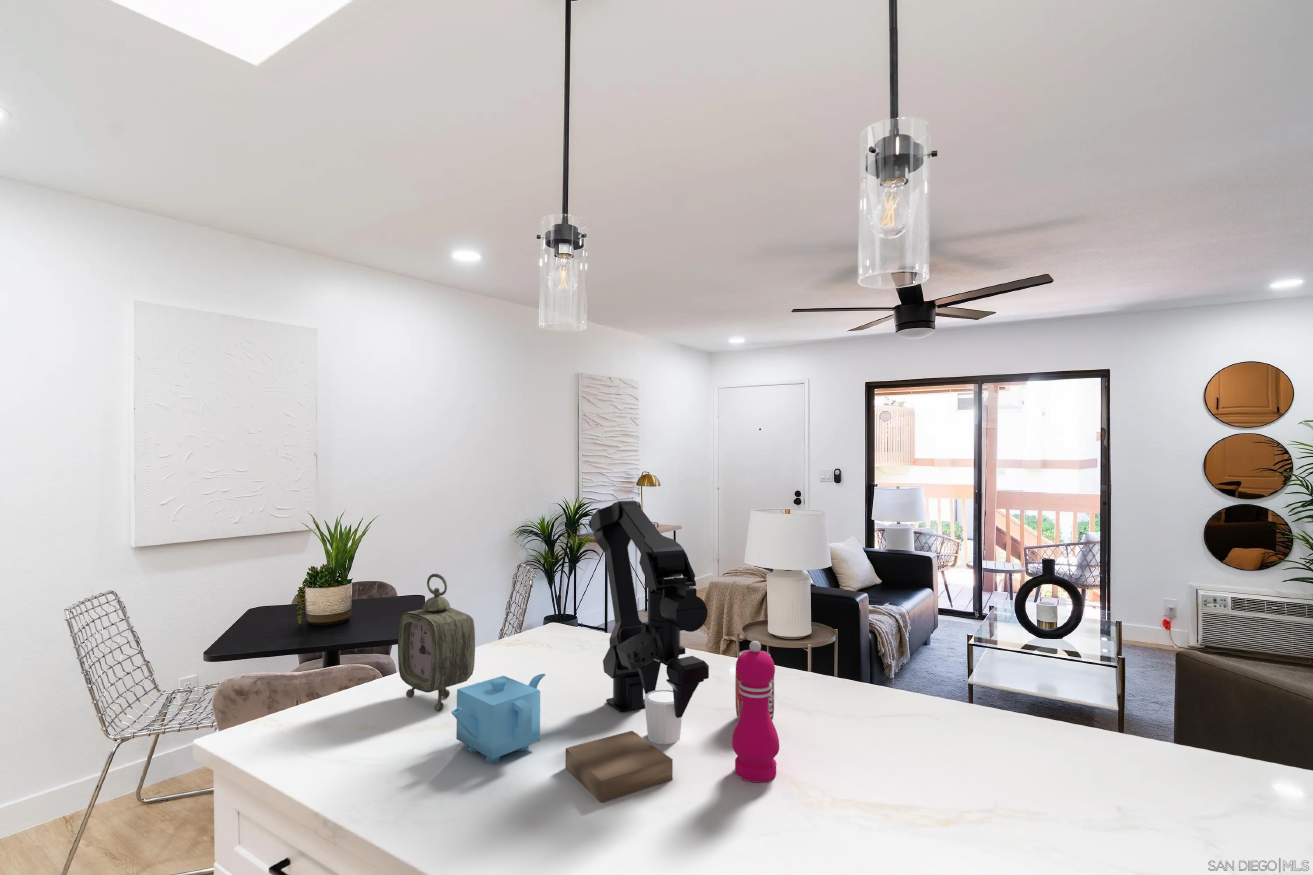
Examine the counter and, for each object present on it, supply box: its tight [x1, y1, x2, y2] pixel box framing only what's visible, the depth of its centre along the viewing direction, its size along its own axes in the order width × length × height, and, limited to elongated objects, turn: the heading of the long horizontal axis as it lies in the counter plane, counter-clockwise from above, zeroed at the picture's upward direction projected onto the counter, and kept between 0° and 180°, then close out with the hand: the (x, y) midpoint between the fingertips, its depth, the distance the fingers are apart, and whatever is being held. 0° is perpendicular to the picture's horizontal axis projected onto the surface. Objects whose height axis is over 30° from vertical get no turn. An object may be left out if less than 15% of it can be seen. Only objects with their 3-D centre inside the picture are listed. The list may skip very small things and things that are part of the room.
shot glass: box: [643, 689, 683, 745], centre depth 111 cm, size 7×7×7 cm
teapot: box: [450, 673, 546, 764], centre depth 107 cm, size 16×18×11 cm
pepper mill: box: [731, 640, 780, 783], centre depth 99 cm, size 7×7×20 cm
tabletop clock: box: [397, 573, 476, 712], centre depth 128 cm, size 14×9×25 cm, turn 49°
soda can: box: [734, 649, 775, 720], centre depth 118 cm, size 7×7×12 cm
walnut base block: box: [565, 730, 674, 803], centre depth 98 cm, size 12×12×3 cm
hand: (663, 708), depth 111 cm, fingers open, 9 cm apart
